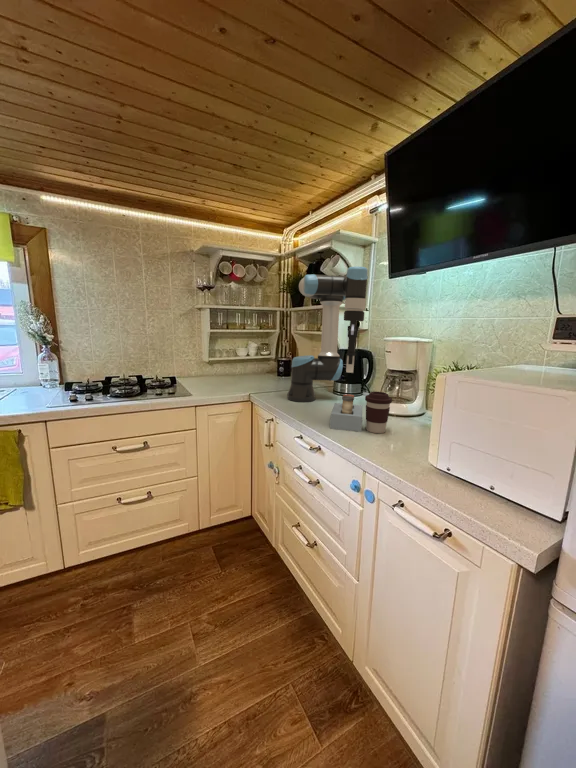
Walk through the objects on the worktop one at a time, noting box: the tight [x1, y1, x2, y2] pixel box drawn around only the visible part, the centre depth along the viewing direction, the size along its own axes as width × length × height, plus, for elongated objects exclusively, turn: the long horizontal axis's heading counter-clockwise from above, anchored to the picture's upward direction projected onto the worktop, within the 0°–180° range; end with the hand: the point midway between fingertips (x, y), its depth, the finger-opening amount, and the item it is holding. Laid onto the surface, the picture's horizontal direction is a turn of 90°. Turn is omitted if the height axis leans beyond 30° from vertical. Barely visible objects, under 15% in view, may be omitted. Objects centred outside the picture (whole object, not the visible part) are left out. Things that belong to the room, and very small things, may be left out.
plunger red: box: [342, 394, 355, 409], centre depth 136 cm, size 5×5×9 cm
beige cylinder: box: [341, 395, 355, 414], centre depth 127 cm, size 5×5×9 cm
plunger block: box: [329, 402, 363, 433], centre depth 132 cm, size 18×12×6 cm, turn 167°
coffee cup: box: [364, 391, 393, 434], centre depth 124 cm, size 10×10×15 cm
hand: (349, 372), depth 125 cm, fingers closed
